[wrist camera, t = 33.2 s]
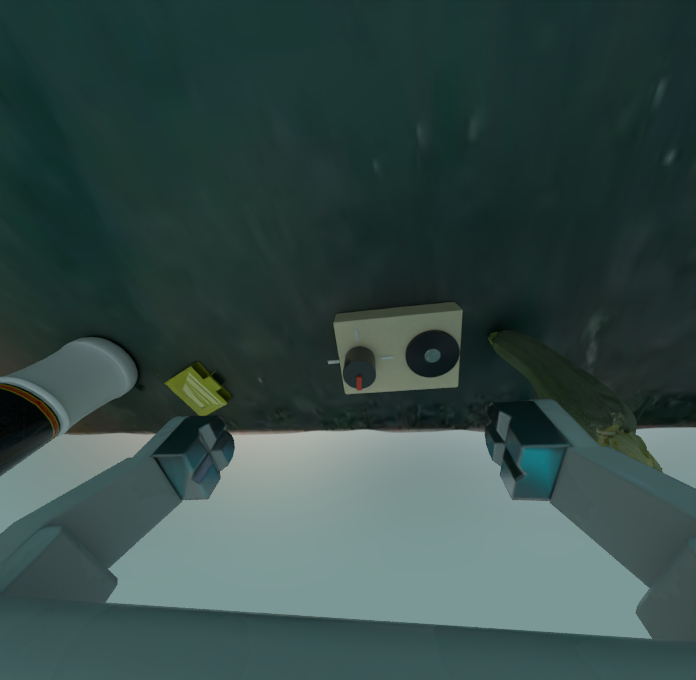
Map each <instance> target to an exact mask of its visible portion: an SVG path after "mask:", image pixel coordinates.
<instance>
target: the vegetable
mask: <svg viewBox="0 0 696 680" xmlns="http://www.w3.org/2000/svg"><path fill="white" fill-rule="evenodd" d="M488 341H490V342H491V345H492V346H493V348H494V350H495V352H496V353H497V354H498V355H499V356H501V357H502V358H503V359H505V360H506V361H507V362H508V363H509V364H511V365H512V366H513V367H514V368H516V369H517V370H518V371H520V372H521V373H522V374H523V375H524V376H525V377H526V378H527V379H528V380H529V381H530V382H531V384H532V385H533V386H534V388H535V390H536V392H537V394H538V396H539V398H540V399H552V400H554V401H556V402H557V403H558V404H559V405H560V406H561V407H562V408H563V409H564V410H565V411H566V412H567V413H568V414H569V415H570V416H571V417H572V418H573V419H574V420H575V421H576V422H577V423H578V424H579V425H580V426H581V427H582V428H583V429H584V430H585V431H586V432H587V433H588V434H589V435H590V436H591V437H592V438H593V439H594V440H595V441H596V442H597V443H598V444H599V445H600V446H609V447H611V448H613V449H615V450H617V451H619V452H621V453H623V454H625V455H627V456H629V457H631V458H633V459H635V460H637V461H639V462H642V463H644V464H646V465H648V466H650V467H652V468H654V469H656V470H658V471H660V472H662V468H661V467H660V465H659V464H658V462H657V461H656V460H655V458H654V457H653V456H652V455H651V454H650V453H649V451H647V447H646V445H645V443H644V441H643V440H642V439H641V438H640V437H639V436H637V435H635V433H636V426H637V421H636V419H635V416H634V414H633V413H632V411H631V410H630V409H629V407H628V406H627V405H626V404H625V403H624V402H623V401H622V400H621V399H620V398H619V397H618V396H617V395H616V394H615V393H614V392H613V391H611V390H610V389H609V388H608V387H607V386H605V385H604V384H603V383H601V382H600V381H599V380H598V379H597V378H595V377H594V376H592V375H591V374H589V373H588V372H586V371H584V370H583V369H581V368H579V367H578V366H577V365H575V364H574V363H573V362H571V361H570V360H569V359H567V358H565V357H564V356H562V355H560V354H559V353H557V352H556V351H554V350H552V349H551V348H549V347H548V346H546V345H545V344H543V343H542V342H540V341H539V340H537V339H535V338H534V337H532V336H529V335H526V334H524V333H521V332H518V331H514V330H503V331H500V332H495V333H491V334H490V337H488ZM662 473H663V472H662Z"/></svg>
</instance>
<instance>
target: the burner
mask: <svg viewBox="0 0 696 680" xmlns="http://www.w3.org/2000/svg"><path fill="white" fill-rule="evenodd" d="M459 355H460V349H459V345H458V343H457V341H456V340H455V339H454V338H453V337H452V336H451V335H450V334H448V333H446V332H444V331H440V330H429V331H425V332H422V333H420V334H418V335H417V336H415V337H414V338H413V339H412V340H411V341H410V343H409V344H408V346H407V348H406V352H405V358H406V362H407V365H408V367H409V368H410V369H411V371H413V372H414V373H415V374H417V375H419V376H422V377H428V378H433V377H438V376H441V375H444V374H446V373H447V372H449V371H450V370H451V369H452V368H453V367H454V366H455V365H456V363H457V362H458V359H459Z"/></svg>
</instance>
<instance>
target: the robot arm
mask: <svg viewBox="0 0 696 680" xmlns="http://www.w3.org/2000/svg"><path fill="white" fill-rule="evenodd" d="M487 414H488V416H489V418H490V420H491V421H490V422H489V423H488V424H487V425H486V428H485V439H486V445H487V448H488V451H489V454H490V456H491V458H492V460H493V461H494V462H496V463H497V464H498V465H500V466H501V472H500V476H501V478H502V480H503V482H504V484H505V486H506V488H507V490H508V492H509V494H510V496H511V498H512V499H513V500H542V501H544V500H545V501H550V503H551V504H552V505H553V506H554V507H556V508H557V509H558V510H559V511H560V512H561V513H563V514H564V515H565V516H566V517H567V518H568V519H570V520H571V521H572V522H573V523H574V524H575V525H577V526H578V527H579V528H580V529H581V530H582V531H584V532H585V533H586V534H587V535H588V536H590V537H591V538H592V539H593V540H594V541H595V542H596V543H598V544H599V545H600V546H601V547H602V548H603V549H605V550H606V551H607V552H608V553H609V554H610V555H612V556H613V557H614V558H615V559H616V560H617V561H619V562H620V563H621V564H622V565H623V566H624V567H626V568H627V569H628V570H629V571H630V572H631V573H633V574H634V575H635V576H636V577H637V578H638V579H640V580H641V581H642V582H643V583H644V584H645V585H647V586H648V587H649V588H650V589H649V590H648V591H647V593H646V594H645V596H644V597H643V598H642V600H641V601H640V602H639V604H638V606H637V610H636V614H637V616H638V617H639V619H640V620H641V621H642V623H643V625H644V626H645V628H646V629H647V631H648V633H649V634H650V636H651V637H652V639H644V638H629V637H614V636H599V635H583V634H568V633H554V632H539V631H524V630H509V629H508V630H507V629H494V628H479V627H463V626H448V625H434V624H418V623H404V622H389V621H374V620H358V619H343V618H329V617H313V616H298V615H284V614H268V613H267V614H266V613H253V612H238V611H223V610H208V609H207V610H206V609H193V608H178V607H162V606H148V605H147V606H146V605H133V604H117V603H105V602H106V600H107V599H108V598H109V596H110V595H111V593H112V592H113V590H114V589H115V587H116V586H117V578H116V577H115V576H114V575H113V574H112V573H111V572H110V571H109V570H108V568H110V567H111V566H112V565H113V564H114V563H115V562H116V561H117V560H118V559H119V558H120V557H122V556H123V555H124V554H125V553H126V552H127V551H128V550H129V549H130V548H131V547H133V546H134V545H135V544H136V543H137V542H138V541H139V540H140V539H141V538H142V537H144V536H145V535H146V534H147V533H148V532H149V531H150V530H151V529H152V528H153V527H155V526H156V525H157V524H158V523H159V522H160V521H161V520H162V519H163V518H164V517H165V516H167V515H168V514H169V513H170V512H171V511H172V510H173V509H174V508H175V507H177V506H178V505H179V504H180V503H181V502H182V501H181V500H198V499H209V497H210V495H211V494H212V492H213V490H214V489H215V487H216V485H217V483H218V482H219V480H220V471H221V470H223V469H224V468H225V467H226V466H228V464H229V463H230V461H231V459H232V457H233V453H234V448H235V447H234V440H233V437H232V435H231V434H230V433H228V432H227V431H226V430H225V428H226V426H227V424H226V422H225V420H224V418H223V417H222V416H219V415H210V416H178V417H175V418H172V419H171V420H170V421H169V422H168V423H167V424H166V425H165V426H164V427H163V428H162V429H161V430H160V431H159V432H158V433H157V434H156V435H155V436H154V437H153V438H152V439H151V440H150V441H149V442H148V443H147V444H146V445H145V446H144V447H143V448H142V449H141V450H140V451H139V452H138V453H137V454H136V455H135V456H134V457H133V458H127V459H125V460H124V461H122V462H120V463H118V464H116V465H115V466H113V467H111V468H109V469H107V470H106V471H104V472H102V473H100V474H99V475H97V476H95V477H93V478H92V479H90V480H88V481H86V482H84V483H83V484H81V485H79V486H77V487H76V488H74V489H72V490H71V491H69V492H67V493H65V494H63V495H62V496H60V497H58V498H56V499H55V500H53V501H51V502H50V503H48V504H46V505H44V506H42V507H41V508H39V509H37V510H35V511H34V512H32V513H30V514H28V515H27V516H25V517H23V518H21V519H20V520H18V521H16V522H14V523H13V524H12V525H11V526H9V527H8V528H7V529H6V530H5V531H4V532H2V533H1V534H0V680H696V489H695V488H693V487H691V486H689V485H687V484H685V483H683V482H680V481H678V480H676V479H674V478H672V477H670V476H668V475H666V474H664V473H662V472H660V471H658V470H656V469H654V468H652V467H650V466H648V465H646V464H644V463H642V462H639V461H637V460H635V459H633V458H631V457H629V456H627V455H625V454H623V453H621V452H619V451H617V450H615V449H613V448H611V447H609V446H600V445H599V444H598V443H597V442H596V441H595V440H594V439H593V438H592V437H591V436H590V435H589V434H588V433H587V432H586V431H585V430H584V429H583V428H582V427H581V426H580V425H579V424H578V423H577V422H576V421H575V420H574V419H573V418H572V417H571V416H570V415H569V414H568V413H567V412H566V411H565V410H564V409H563V408H562V407H561V406H560V405H559V404H558V403H557V402H556V401H554V400H552V399H537V400H529V401H508V402H490V404H489V406H488V411H487Z"/></svg>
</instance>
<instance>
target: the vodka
mask: <svg viewBox="0 0 696 680" xmlns="http://www.w3.org/2000/svg"><path fill="white" fill-rule="evenodd" d="M137 378H138V371H137V368H136V365H135V363H134V361H133V360H132V358H131V357H130V356H129V355H128V354H127V353H126V352H125V351H124V350H123V349H122V348H121V347H119V346H118V345H116V344H115V343H113V342H111V341H109V340H106V339H103V338H98V337H84V338H79V339H77V340H75V341H72V342H70V343H68V344H66V345H65V346H63V347H62V348H61V349H60V350H59V351H57V352H55V353H54V354H52V355H50V356H49V357H47V358H45V359H43V360H41V361H39V362H37V363H35V364H33V365H31V366H29V367H26V368H24V369H22V370H20V371H17V372H15V373H12V374H10V375H7V376H5V377H0V476H1V475H3V474H4V473H6V472H7V471H8V470H10V469H11V468H13V467H14V466H15V465H17V464H18V463H20V462H21V461H23V460H24V459H25V458H27V457H28V456H30V455H31V454H32V453H34V452H35V451H37V450H38V449H39V448H41V447H42V446H44V445H45V444H46V443H48V442H49V441H51V440H52V439H54V438H55V437H57V436H60V435H62V434H64V433H65V432H67V430H68V429H69V428H70V427H71V426H73V425H74V424H75V423H77V422H78V421H79V420H80V419H82V418H83V417H85V416H86V415H88V414H89V413H91V412H93V411H94V410H96V409H97V408H99V407H101V406H102V405H104V404H106V403H107V402H109V401H111V400H113V399H115V398H118V397H120V396H122V395H123V394H125V393H127V392H128V391H129V390H131V389H132V388H133V387H134V385H135V383H136V381H137Z"/></svg>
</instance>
